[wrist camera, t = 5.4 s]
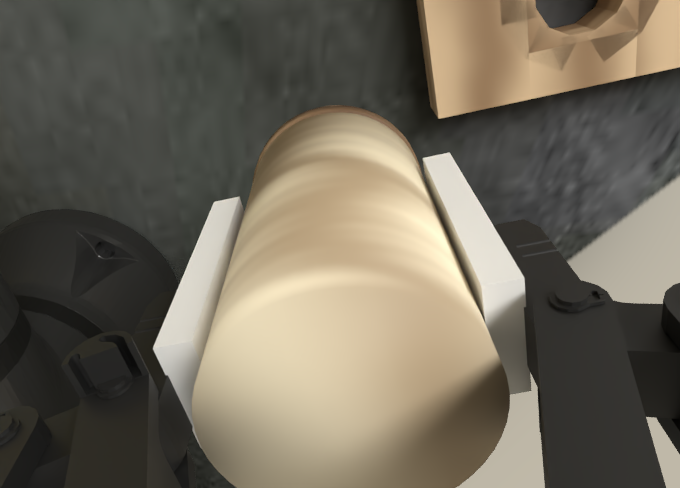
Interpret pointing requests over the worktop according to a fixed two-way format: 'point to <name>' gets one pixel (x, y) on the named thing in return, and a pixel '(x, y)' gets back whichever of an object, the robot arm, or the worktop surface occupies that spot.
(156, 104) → the worktop surface
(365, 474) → the peg
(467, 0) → the board
